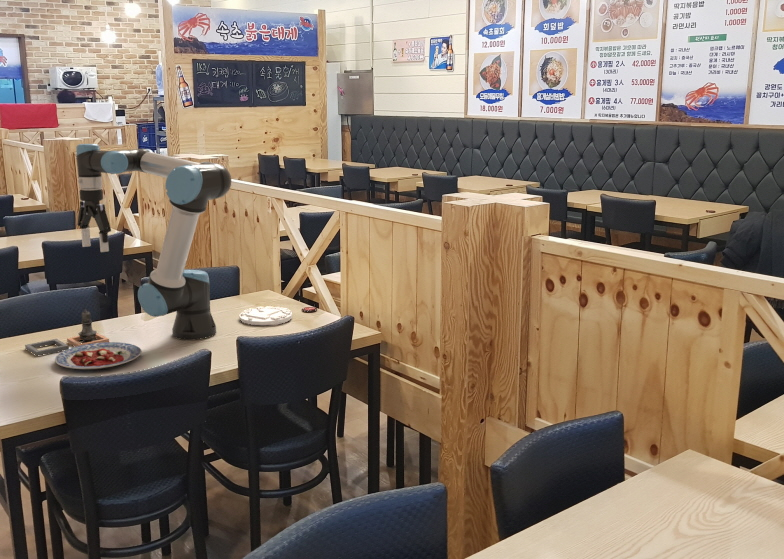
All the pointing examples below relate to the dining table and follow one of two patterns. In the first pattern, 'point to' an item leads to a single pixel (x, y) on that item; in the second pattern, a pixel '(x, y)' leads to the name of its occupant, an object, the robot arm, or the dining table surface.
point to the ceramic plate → (98, 355)
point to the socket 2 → (75, 342)
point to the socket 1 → (50, 350)
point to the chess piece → (87, 328)
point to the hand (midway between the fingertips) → (95, 249)
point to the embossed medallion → (266, 315)
